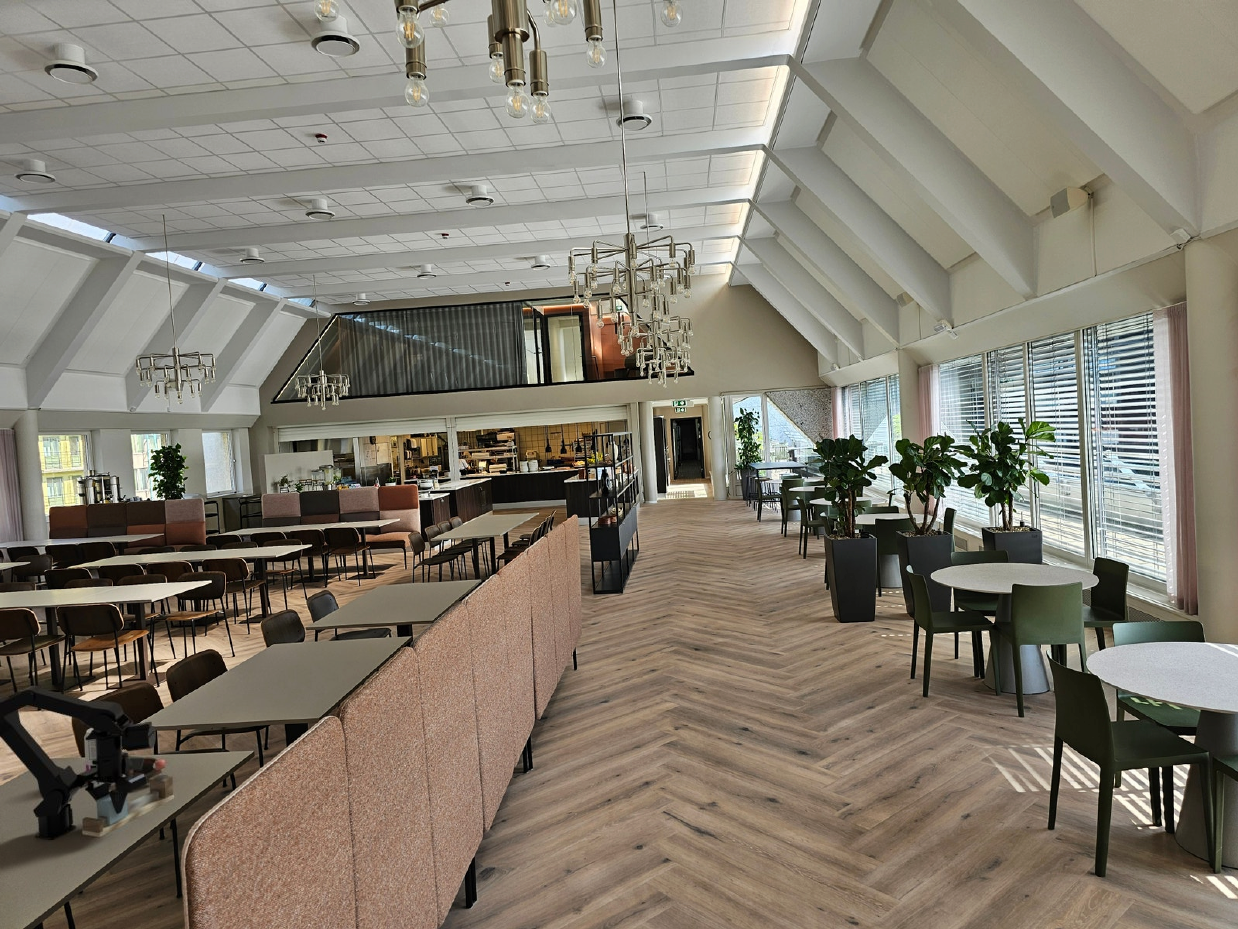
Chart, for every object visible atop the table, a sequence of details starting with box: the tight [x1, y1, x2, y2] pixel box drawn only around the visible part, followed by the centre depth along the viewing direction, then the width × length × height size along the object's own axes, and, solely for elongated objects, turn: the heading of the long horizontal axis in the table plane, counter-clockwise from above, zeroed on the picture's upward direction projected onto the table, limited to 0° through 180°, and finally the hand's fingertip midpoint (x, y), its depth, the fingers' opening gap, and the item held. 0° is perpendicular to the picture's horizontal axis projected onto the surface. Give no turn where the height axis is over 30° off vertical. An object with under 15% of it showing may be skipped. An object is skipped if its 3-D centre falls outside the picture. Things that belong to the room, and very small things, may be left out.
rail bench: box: [81, 774, 175, 838], centre depth 206 cm, size 23×6×6 cm, turn 163°
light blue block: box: [96, 795, 128, 825], centre depth 201 cm, size 5×4×6 cm
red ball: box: [154, 758, 166, 770], centre depth 215 cm, size 2×2×2 cm
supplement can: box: [83, 727, 97, 771], centre depth 231 cm, size 8×8×15 cm
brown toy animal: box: [123, 756, 163, 784], centre depth 226 cm, size 12×10×8 cm
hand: (112, 812), depth 201 cm, fingers closed on light blue block, 4 cm apart
